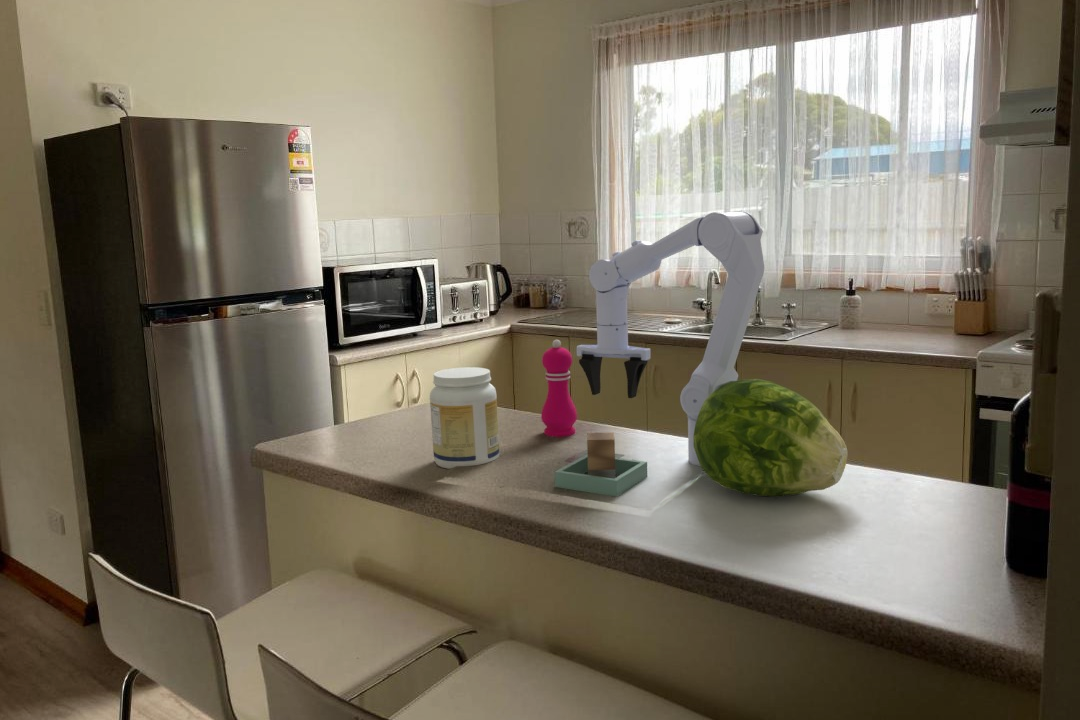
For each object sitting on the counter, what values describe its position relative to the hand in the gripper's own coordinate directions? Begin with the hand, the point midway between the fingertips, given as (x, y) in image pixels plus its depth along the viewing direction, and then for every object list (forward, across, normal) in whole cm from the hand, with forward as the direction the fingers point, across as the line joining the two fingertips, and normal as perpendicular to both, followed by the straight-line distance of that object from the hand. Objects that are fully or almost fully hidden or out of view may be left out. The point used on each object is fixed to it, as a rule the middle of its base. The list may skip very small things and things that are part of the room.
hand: (613, 395), depth 162 cm
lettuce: (+11, -34, +13) cm, 38 cm away
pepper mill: (+11, +14, -3) cm, 18 cm away
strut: (+10, -8, +21) cm, 25 cm away
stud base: (+10, -1, +10) cm, 14 cm away
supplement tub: (+11, +21, +19) cm, 30 cm away
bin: (+10, -8, +22) cm, 25 cm away
